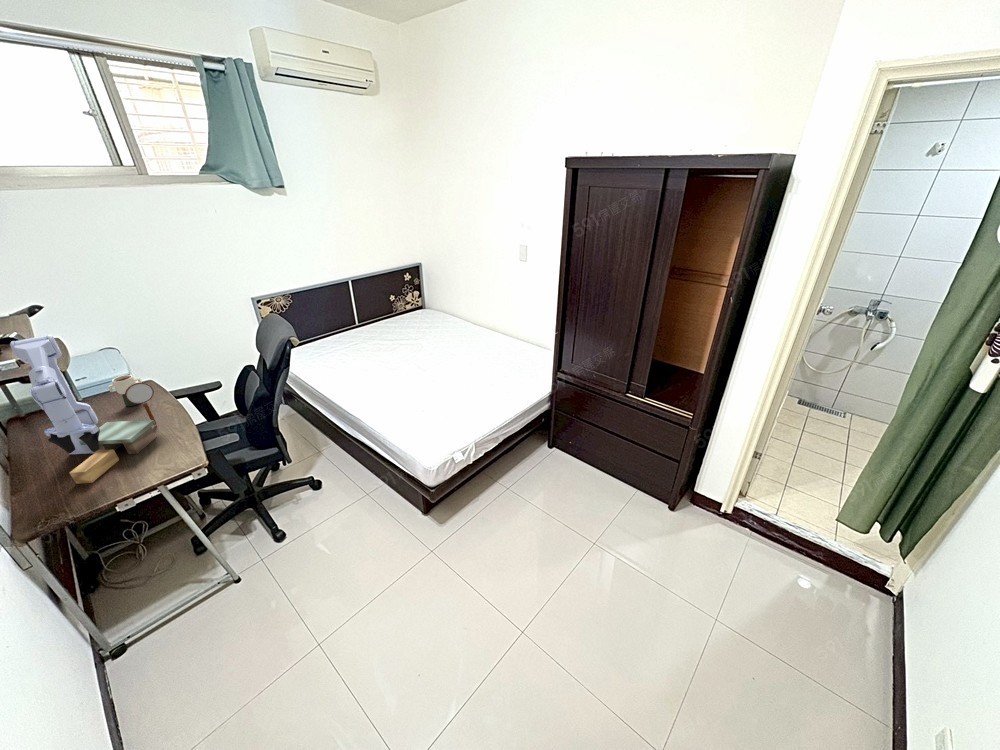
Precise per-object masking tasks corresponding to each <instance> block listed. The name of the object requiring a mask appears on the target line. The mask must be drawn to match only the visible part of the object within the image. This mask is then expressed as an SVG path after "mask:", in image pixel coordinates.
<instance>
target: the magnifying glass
mask: <svg viewBox="0 0 1000 750" xmlns="http://www.w3.org/2000/svg"><path fill="white" fill-rule="evenodd" d="M154 393H155V391H154V388H153V386H151V385H150V384H149V383H147V382H142V383H139V382H136V383H135V384H133V385H131V386H129V387H128V388H127V390H126V392H125V397H126V399H127V400H128V401H129V402H131V403H135V404H136V405H141V404H142V405H143V408H144V409H145V411H146V414H147V415H148V417H149V420H154V421H155V424H154V425H153V426H154V427H157V421H156V420H155V417H154V416H153V413H152V412H151V409H150V407H149V405H148V403H147V402H148V401H150V400H152V398H153V396H154Z"/></svg>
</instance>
